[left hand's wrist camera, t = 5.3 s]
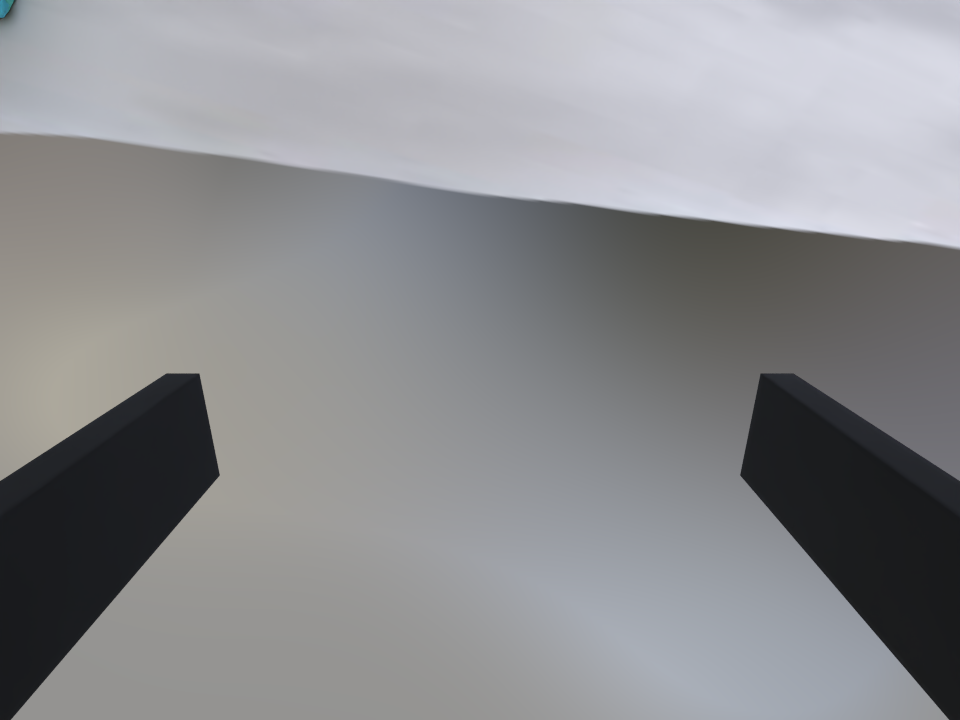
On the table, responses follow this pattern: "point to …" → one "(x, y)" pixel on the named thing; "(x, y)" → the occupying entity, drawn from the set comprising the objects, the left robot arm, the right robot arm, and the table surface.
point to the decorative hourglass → (5, 7)
